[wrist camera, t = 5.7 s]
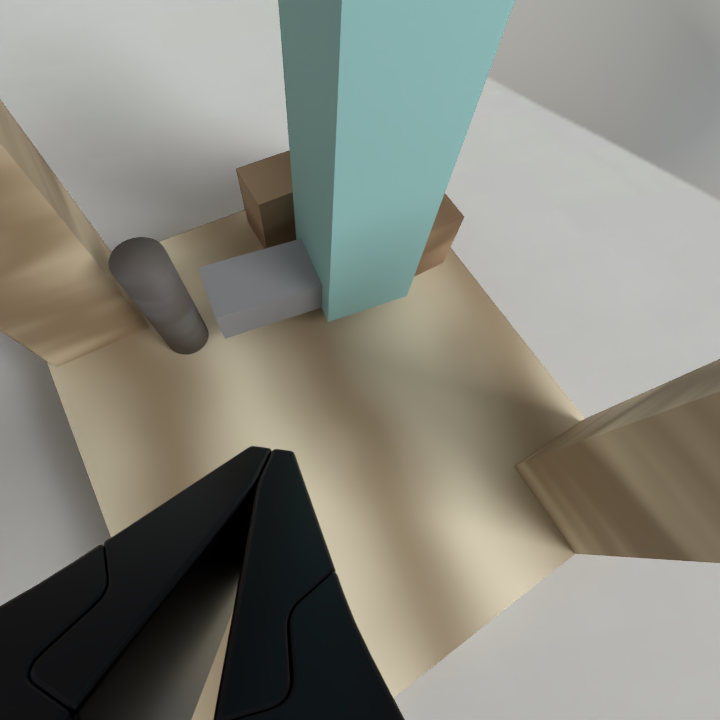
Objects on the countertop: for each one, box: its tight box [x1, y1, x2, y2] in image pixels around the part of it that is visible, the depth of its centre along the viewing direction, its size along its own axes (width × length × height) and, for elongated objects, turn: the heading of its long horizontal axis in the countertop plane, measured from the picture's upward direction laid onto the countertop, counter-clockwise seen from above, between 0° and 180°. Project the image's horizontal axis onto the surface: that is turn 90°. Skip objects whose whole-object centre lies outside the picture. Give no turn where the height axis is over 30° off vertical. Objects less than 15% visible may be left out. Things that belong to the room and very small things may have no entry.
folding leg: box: [198, 0, 515, 339], centre depth 11 cm, size 7×4×13 cm, turn 113°
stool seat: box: [0, 100, 720, 720], centre depth 13 cm, size 17×19×12 cm
